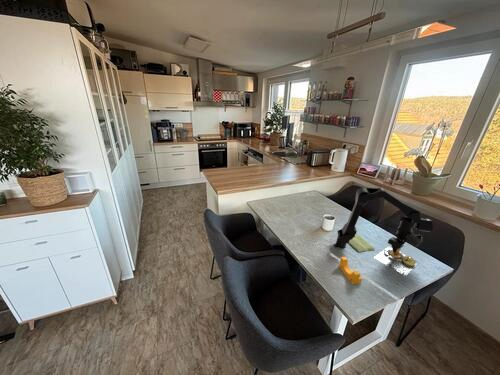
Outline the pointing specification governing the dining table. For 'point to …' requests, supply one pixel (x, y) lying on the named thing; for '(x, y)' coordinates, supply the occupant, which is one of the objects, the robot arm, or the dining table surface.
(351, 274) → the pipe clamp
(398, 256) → the bronze flanged knob
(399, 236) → the robot arm
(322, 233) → the dining table surface
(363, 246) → the washcloth
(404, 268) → the carrier plate
